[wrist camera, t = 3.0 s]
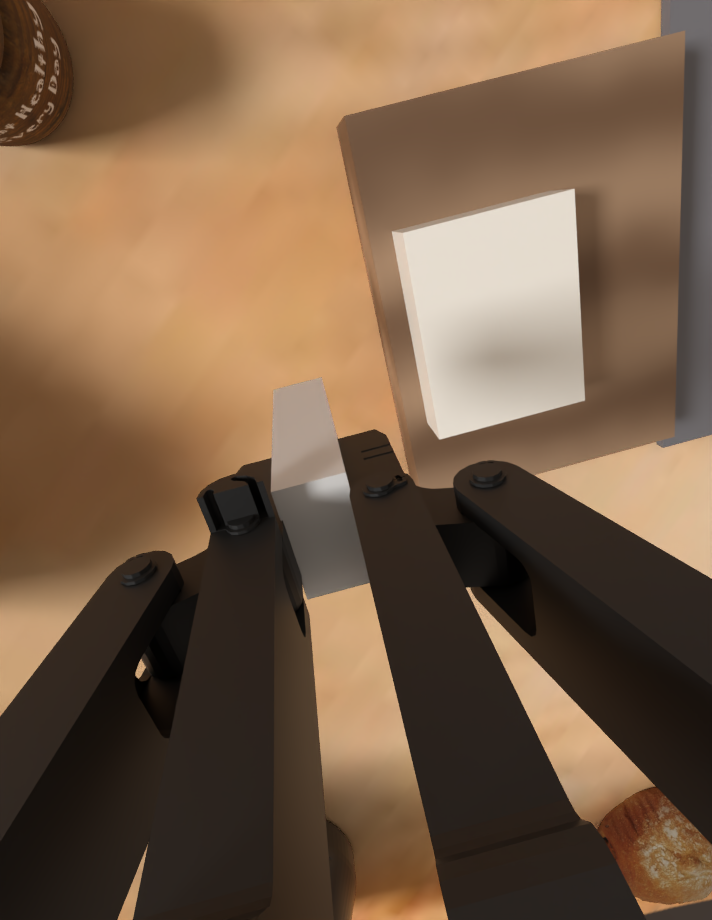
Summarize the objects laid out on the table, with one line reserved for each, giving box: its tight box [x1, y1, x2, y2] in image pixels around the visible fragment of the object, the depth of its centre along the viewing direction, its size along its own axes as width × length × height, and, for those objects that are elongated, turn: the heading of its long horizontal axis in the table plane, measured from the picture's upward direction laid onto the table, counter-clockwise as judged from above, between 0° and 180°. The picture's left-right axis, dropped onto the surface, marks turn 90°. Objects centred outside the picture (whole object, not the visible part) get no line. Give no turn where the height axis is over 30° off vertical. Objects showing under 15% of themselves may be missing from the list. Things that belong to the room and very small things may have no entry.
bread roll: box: [597, 787, 712, 904], centre depth 47 cm, size 10×10×8 cm
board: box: [337, 31, 685, 489], centre depth 27 cm, size 18×14×3 cm
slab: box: [392, 189, 585, 440], centre depth 24 cm, size 9×7×2 cm
